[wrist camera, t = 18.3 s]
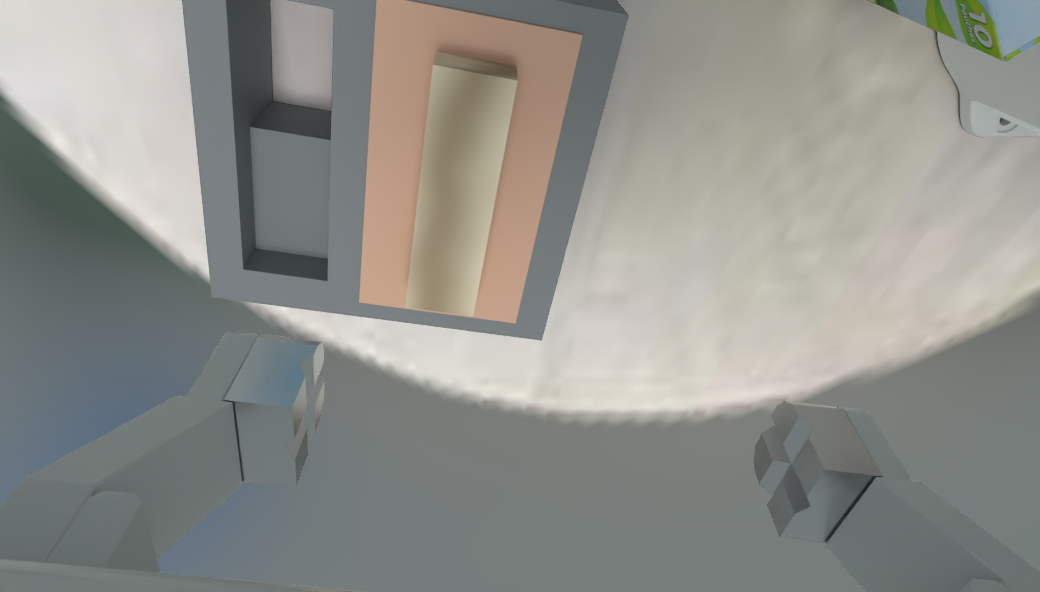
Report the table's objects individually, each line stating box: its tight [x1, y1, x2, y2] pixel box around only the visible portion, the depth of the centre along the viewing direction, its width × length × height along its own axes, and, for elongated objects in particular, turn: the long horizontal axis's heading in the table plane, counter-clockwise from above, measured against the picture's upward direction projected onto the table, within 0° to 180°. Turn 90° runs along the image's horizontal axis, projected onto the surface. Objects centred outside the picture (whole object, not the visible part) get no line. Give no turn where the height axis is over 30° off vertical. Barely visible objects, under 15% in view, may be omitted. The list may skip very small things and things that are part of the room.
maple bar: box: [405, 51, 518, 316], centre depth 35 cm, size 4×14×2 cm, turn 169°
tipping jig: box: [182, 0, 628, 340], centre depth 38 cm, size 21×20×7 cm
